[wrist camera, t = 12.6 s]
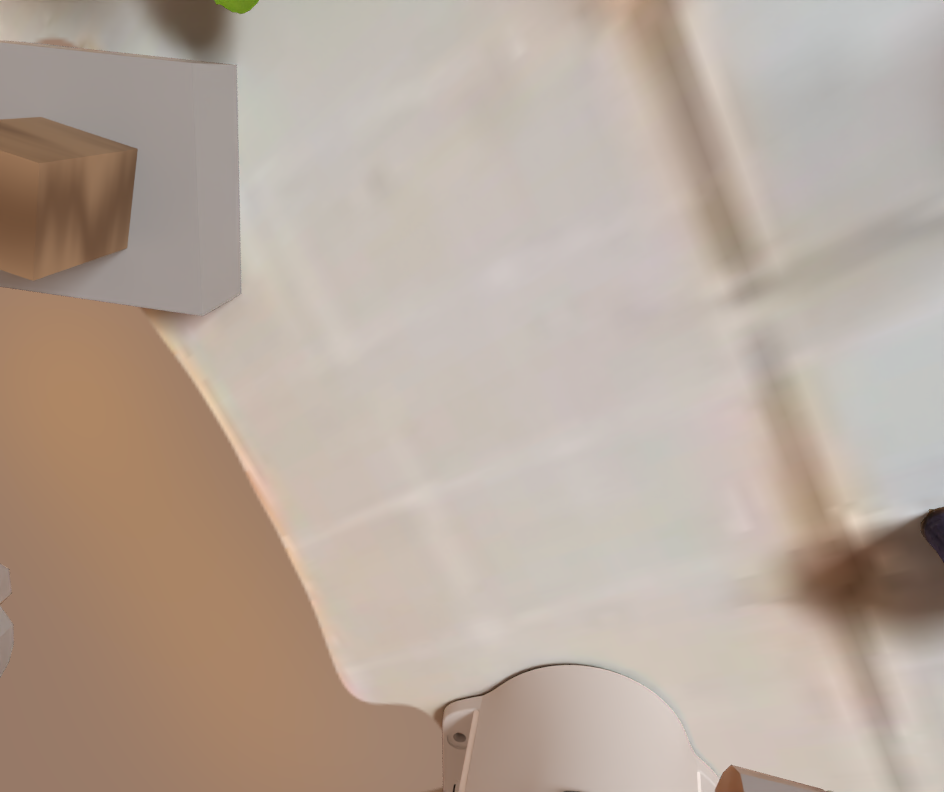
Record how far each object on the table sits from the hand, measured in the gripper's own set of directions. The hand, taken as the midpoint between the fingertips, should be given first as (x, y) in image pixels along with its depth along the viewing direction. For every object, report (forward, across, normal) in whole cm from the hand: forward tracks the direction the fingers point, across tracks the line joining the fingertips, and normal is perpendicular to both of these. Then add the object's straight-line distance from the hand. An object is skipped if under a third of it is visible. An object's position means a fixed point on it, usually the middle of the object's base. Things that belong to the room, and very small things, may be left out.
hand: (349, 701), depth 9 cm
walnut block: (+30, +22, +3) cm, 37 cm away
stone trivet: (+35, +23, +3) cm, 41 cm away
